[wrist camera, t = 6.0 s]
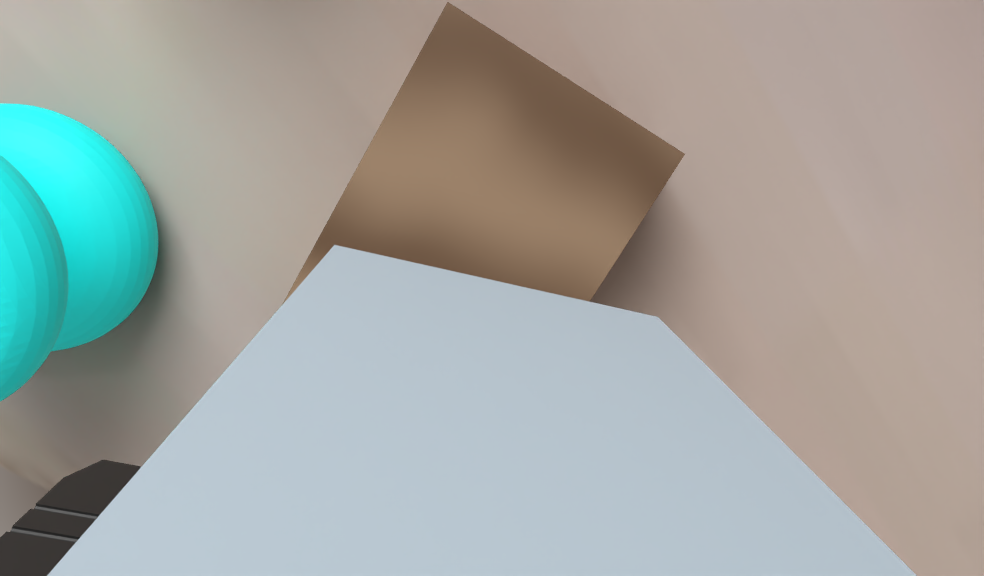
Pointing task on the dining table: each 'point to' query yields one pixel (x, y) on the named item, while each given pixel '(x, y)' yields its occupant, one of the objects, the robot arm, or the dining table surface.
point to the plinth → (499, 170)
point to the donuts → (65, 238)
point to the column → (470, 449)
